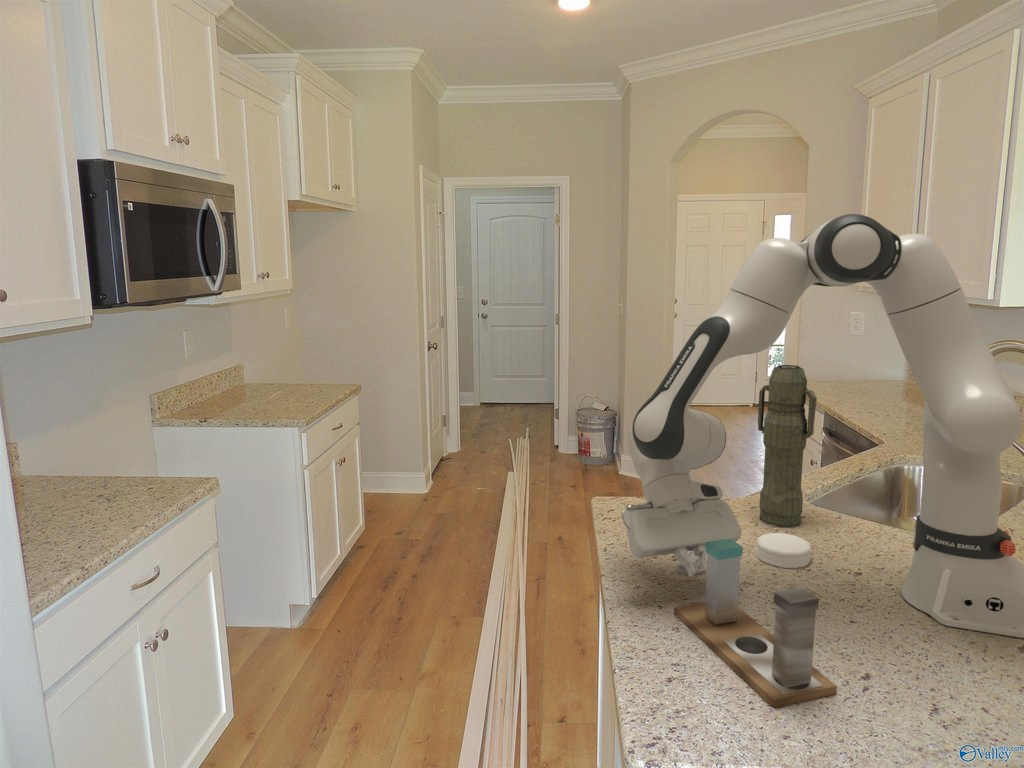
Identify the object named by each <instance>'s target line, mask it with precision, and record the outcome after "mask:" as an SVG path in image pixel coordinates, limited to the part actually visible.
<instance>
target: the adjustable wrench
mask: <svg viewBox="0 0 1024 768" xmlns="http://www.w3.org/2000/svg"><path fill="white" fill-rule="evenodd" d="M686 555H687V557H688V558H689V559H690V560H691V561H692V562H693V563H698V556H695V554H694V551H688V554H686ZM675 572H676V573H677V574H678V575H681V576H687V575H688V572H687V569H686V567H684V566H683V565H682V564H681V563H680V562H679V561H678V563H677V564H676V566H675ZM688 576H689V575H688Z"/></svg>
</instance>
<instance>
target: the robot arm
mask: <svg viewBox="0 0 1024 768" xmlns="http://www.w3.org/2000/svg"><path fill="white" fill-rule="evenodd" d="M863 282H865V283H867V284H868V285H870V286H871V287H872V288H873V289H874V290H875V291H876V293H877V295H878V296H879V297H880V300H881V302H882V305H883V308H884V310H885V313H886V317H887V318H888V320H889V323H890V326H892V327H891V328H892V329H893V332H894V335H895V338H896V339H897V342H898V344H899V346H900V349H901V351H902V354H903V356H904V358H905V361H906V362H907V364H908V366H909V368H910V371H911V373H912V375H913V377H914V379H915V381H916V384H917V385H918V388H919V390H920V392H921V395H922V397H923V398H924V404H923V405H924V407H923V428H922V429H923V430H922V431H923V433H922V434H923V437H922V440H923V441H922V451H923V452H922V453H923V455H922V456H923V458H922V459H923V461H922V463H923V473H922V485H921V495H920V496H921V497H920V507H919V514H918V515H917V516H916V520H915V523H914V528H913V539H912V540H913V541H912V544H913V550H914V551H913V557H912V561H911V565H910V568H909V570H908V571H909V572H908V575H907V577H906V579H905V582H904V584H903V586H902V587H901V589H900V591H901V592H900V593H901V596H902V598H903V599H904V600H905V601H907V603H908V604H910V605H911V606H913V607H914V608H916V609H918V610H920V611H922V612H924V613H926V614H928V615H929V616H931V617H932V618H933V619H934V620H935V621H937V622H938V623H939V624H941V625H944V626H947V627H953V628H959V629H965V630H971V631H978V632H983V633H991V634H996V635H1003V636H1008V637H1013V638H1014V637H1015V638H1021V639H1024V563H1022V562H1021V560H1018V558H1016V557H1015V556H1014V555H1015V554H1016V552H1017V550H1016V545H1015V543H1014V542H1013V541H1012V537H1011V536H1010V535H1009V531H1007V529H1005V530H1004V531H1003V530H1002V529H1001V528H999V527H998V526H999V516H1000V511H1001V509H1000V508H1001V501H1002V492H1003V491H1002V490H1003V478H1002V471H1001V456H1000V454H1001V452H1004V451H1006V450H1008V449H1009V448H1010V447H1012V446H1013V445H1014V444H1015V443H1016V441H1017V440H1018V439H1019V437H1020V435H1021V433H1022V429H1023V427H1022V426H1023V423H1022V422H1023V420H1022V415H1021V414H1022V413H1021V411H1020V408H1019V406H1018V403H1017V401H1016V399H1015V397H1014V395H1013V393H1012V390H1011V388H1010V387H1009V384H1008V383H1007V380H1006V379H1005V377H1004V375H1003V373H1002V371H1001V368H1000V366H999V365H998V363H997V361H996V359H995V357H994V356H993V353H992V351H991V350H990V348H989V347H988V345H987V343H986V341H985V339H984V337H983V335H982V333H981V331H980V329H979V327H978V325H977V321H976V320H975V317H974V315H973V312H972V310H971V307H970V305H969V303H968V300H967V298H966V296H965V293H964V291H963V288H962V286H961V284H960V282H959V280H958V277H957V275H956V274H955V271H954V270H953V267H952V266H951V264H950V262H949V261H948V259H947V257H946V256H945V254H944V253H943V251H942V250H941V248H940V247H939V245H938V244H937V243H936V242H935V240H934V239H933V238H932V237H930V236H928V235H926V234H922V233H907V234H906V233H905V234H903V235H897V234H895V233H894V232H893V231H891V230H889V229H888V228H886V227H885V226H884V225H883V224H881V223H880V222H878V221H877V220H875V219H874V218H872V217H871V216H868V215H864V214H859V213H849V214H843V215H840V216H837V217H835V218H833V219H831V220H828V221H826V222H824V223H822V224H821V225H820V226H818V228H817V229H815V230H814V231H813V232H812V233H810V234H809V235H807V236H806V237H805V238H804V239H802V240H801V241H798V242H797V241H796V242H795V241H793V240H791V239H787V238H782V237H772V238H767V239H766V238H765V239H764V240H762V241H760V242H759V243H758V244H757V245H756V247H755V248H754V249H753V251H751V253H750V254H749V256H748V257H747V259H746V260H745V262H744V263H743V264H742V267H741V268H740V270H739V271H738V272H737V274H736V277H735V278H734V280H733V282H732V284H731V286H730V288H729V290H728V292H727V294H726V296H724V297H725V298H724V299H723V301H722V302H721V303H720V305H719V307H718V308H717V309H716V310H715V311H714V313H713V314H712V315H711V316H710V317H709V318H707V319H705V320H704V321H702V322H701V323H700V324H699V325H698V327H697V328H695V330H694V331H693V333H692V334H691V336H689V338H688V339H687V341H686V343H685V344H684V346H683V348H682V349H681V351H680V352H679V354H678V356H677V357H676V358H675V360H674V362H673V363H672V365H671V366H670V368H669V369H668V371H667V373H666V374H665V376H664V377H663V379H662V381H661V382H660V384H659V385H658V387H657V388H656V390H655V391H654V393H652V395H650V396H649V398H647V400H646V401H645V402H644V403H643V404H642V405H641V406H640V408H639V409H638V411H637V412H636V414H635V416H634V418H633V422H632V424H631V426H630V428H629V430H628V433H627V444H628V449H629V453H630V458H631V461H632V464H633V467H634V469H635V473H636V474H637V475H638V477H639V479H640V480H641V486H642V487H641V488H642V493H643V497H644V500H645V502H643V503H639V504H638V503H637V504H629V505H626V507H624V508H623V510H622V512H621V518H622V521H623V524H624V527H626V530H627V531H626V532H627V539H628V543H629V544H628V545H629V548H630V551H631V554H632V555H633V556H634V557H635V558H637V559H643V558H650V557H658V556H664V555H670V554H674V556H675V558H676V560H677V562H678V563H679V562H680V563H681V564H682V565H683V566H684V567H686V569H687V572H688V576H689V577H690V578H691V577H696V576H704V575H706V574H707V552H706V542H709V541H716V540H723V539H732V540H733V541H735V542H736V543H738V541H739V540H740V539H741V536H742V529H741V526H740V524H739V521H738V519H737V517H736V514H735V513H734V511H733V509H732V508H731V506H730V505H729V503H728V502H727V501H725V500H723V499H722V498H723V496H724V493H723V491H722V488H721V487H720V486H717V485H714V484H707V483H704V482H703V483H702V482H699V481H696V480H692V479H691V477H690V471H691V470H696V469H700V468H702V467H704V466H707V465H709V464H712V463H714V462H715V461H717V460H718V459H719V458H720V457H721V455H723V452H724V449H725V448H726V443H727V433H726V432H727V431H726V428H725V426H724V423H723V422H722V421H721V419H719V418H718V417H717V416H715V415H714V414H713V415H712V414H710V413H707V412H705V411H701V410H698V409H693V408H690V406H691V405H692V403H693V401H694V400H695V398H696V396H697V395H698V394H699V391H700V390H701V388H702V387H703V385H704V384H705V382H706V380H707V379H708V378H709V375H710V374H711V373H712V372H713V370H714V369H715V368H716V367H717V366H718V365H719V364H722V363H723V362H724V361H726V360H729V359H732V358H734V357H738V356H743V355H745V356H746V355H751V354H752V355H754V354H758V353H761V352H762V351H764V350H767V349H769V348H771V347H772V346H773V345H774V344H775V342H777V340H778V339H779V338H780V337H781V335H782V334H783V332H784V331H785V329H786V326H787V325H788V322H789V320H790V319H791V316H792V315H793V313H794V311H795V309H796V307H797V304H798V302H799V300H800V299H801V297H802V296H803V294H804V292H806V291H807V290H808V288H810V287H811V286H820V287H848V286H852V285H855V284H857V283H859V284H860V283H863ZM689 551H694V554H695V556H698V563H693V562H692V561H691V560H690V559H689V558H688V557H687V554H688V553H689Z"/></svg>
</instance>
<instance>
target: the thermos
mask: <svg viewBox="0 0 1024 768" xmlns="http://www.w3.org/2000/svg"><path fill="white" fill-rule="evenodd" d="M807 386H808V381H807V377H806V371H805V369H804V368H802V367H801V366H799V365H794V364H793V365H792V364H779V365H777V366H775V367H773V369H772V371H771V374H770V377H769V380H768V384H766V385H763V386H762V388H761V389H759V392H758V394H759V395H758V397H759V398H758V411H757V413H758V414H757V429H758V431H760V432H761V434H763V436H762V438H763V439H762V443H763V445H764V460H763V461H764V465H763V478H762V479H763V481H762V488H761V491H760V493H759V506H758V507H759V509H760V511H759V512H760V513H759V520H760V519H761V520H762V521H763V522H765V523H768V524H771V525H775V526H778V527H777V528H783V527H791V528H795V527H794V526H796V527H798V526H800V525H801V523H802V522H801V521H802V520H801V515H802V513H803V507H804V506H803V505H804V497H803V490H802V479H803V477H802V475H803V463H804V461H803V460H804V459H803V458H804V450H805V448H806V447H807V439H808V438H810V437H812V436H813V435H814V433H815V432H814V431H815V430H814V429H815V427H814V426H815V417H816V409H817V408H816V407H817V395H816V394H815V393H814V391H813V390H811V389H808V387H807ZM766 392H768V398H767V399H768V406H767V412H766V415H765V417H764V414H765V413H764V412H765V398H766V397H765V396H766V395H765V394H766ZM807 397H808V399H809V401H808V414H807V415H808V416H807V417H806V409H805V404H806V402H807ZM761 520H760V521H761ZM762 521H761V522H762ZM763 522H762V523H763ZM765 523H764V524H765ZM768 524H767V525H768ZM799 524H800V525H799ZM771 525H770V526H771ZM797 525H798V526H797ZM775 526H774V527H775Z"/></svg>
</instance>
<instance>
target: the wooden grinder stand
mask: <svg viewBox="0 0 1024 768" xmlns="http://www.w3.org/2000/svg"><path fill="white" fill-rule="evenodd" d="M819 601H820V598H819V597H818V596H816V595H815V594H813V593H812V592H810V591H808V589H806V588H804V587H803V586H800V587H794V588H793V587H792V588H788V589H781V590H777V591H774V593H773V603H774V604H775V614H774V629H773V630H774V632H773V634H772V632H770V631H769V630H767V629H766V628H765V627H763V626H762V625H761V624H760V623H758V622H757V621H756V620H754V619H753V618H752V617H751V616H750V615H748V614H747V613H746V612H744V611H743V610H742V609H741V608H740V607H738V616H737V621H733V622H728V623H722V624H717V625H715V624H714V623H713V622H712V621H710V620H709V619H708V618H707V617H706V616H705V601H702V602H697V603H690V604H684V605H678V606H674V607H673V614H674V616H676V617H677V618H678V619H679V620H680V621H681V622H682V623H683V624H684V625H685V626H686V627H687V628H688V629H690V631H692V633H694V634H695V635H696V636H697V637H698V638H699V640H701V641H702V640H703V641H704V642H705V643H706V644H707V645H708V646H709V647H708V646H707V645H706V644H705V643H704V642H703V641H702V642H703V643H704V644H705V645H706V646H707V647H708V648H709V649H711V650H712V651H713V652H714V653H715V652H716V653H717V654H716V653H715V654H716V656H718V657H719V658H720V659H721V660H722V662H724V663H725V664H726V663H727V664H728V665H727V664H726V665H727V666H728V667H729V668H731V669H732V671H734V672H735V673H736V674H737V675H738V676H739V677H740V678H741V679H742V680H743V681H744V682H745V683H746V684H747V685H748V686H749V687H751V688H752V689H753V690H754V691H755V692H756V693H757V694H758V695H759V696H760V697H761V698H762V699H763V700H764V701H765V702H766V703H767V704H768V705H770V706H771V707H772V708H773V709H775V708H781V707H784V706H791V705H793V704H798V703H799V704H800V703H803V702H806V701H807V702H808V701H810V700H816V699H821V698H824V697H828V696H829V697H830V696H834V695H837V689H838V686H837V685H836V684H835V683H834V682H832V681H831V680H830V679H829V678H827V677H826V675H824V674H822V673H821V671H819V670H818V669H817V668H815V667H814V666H813V658H814V657H813V655H814V644H815V643H814V641H815V640H814V639H815V626H816V614H817V612H816V611H817V610H819Z"/></svg>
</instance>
